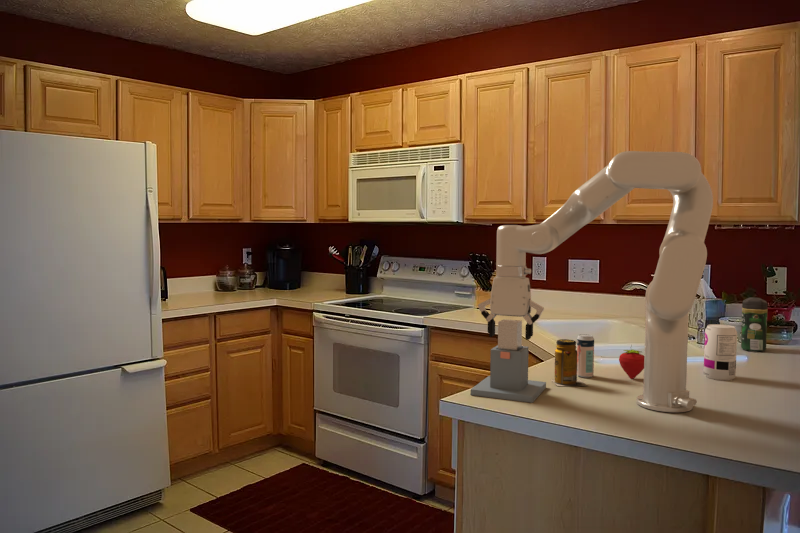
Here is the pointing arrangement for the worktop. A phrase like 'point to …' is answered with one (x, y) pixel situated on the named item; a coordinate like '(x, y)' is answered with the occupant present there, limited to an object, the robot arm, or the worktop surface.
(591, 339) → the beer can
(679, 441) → the worktop surface
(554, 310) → the worktop surface
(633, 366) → the strawberry
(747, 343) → the coffee jar
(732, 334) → the supplement can
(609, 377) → the worktop surface
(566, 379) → the condiment
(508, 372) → the sleeve
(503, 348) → the block
